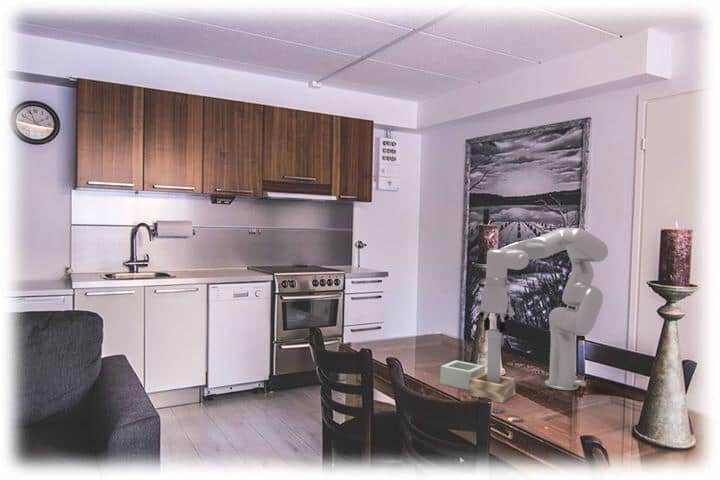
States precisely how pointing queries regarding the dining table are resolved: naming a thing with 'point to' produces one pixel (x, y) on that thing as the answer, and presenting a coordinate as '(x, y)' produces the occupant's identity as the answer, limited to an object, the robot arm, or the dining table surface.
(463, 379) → the holder block
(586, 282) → the robot arm
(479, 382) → the oak collar
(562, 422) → the dining table surface
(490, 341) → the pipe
